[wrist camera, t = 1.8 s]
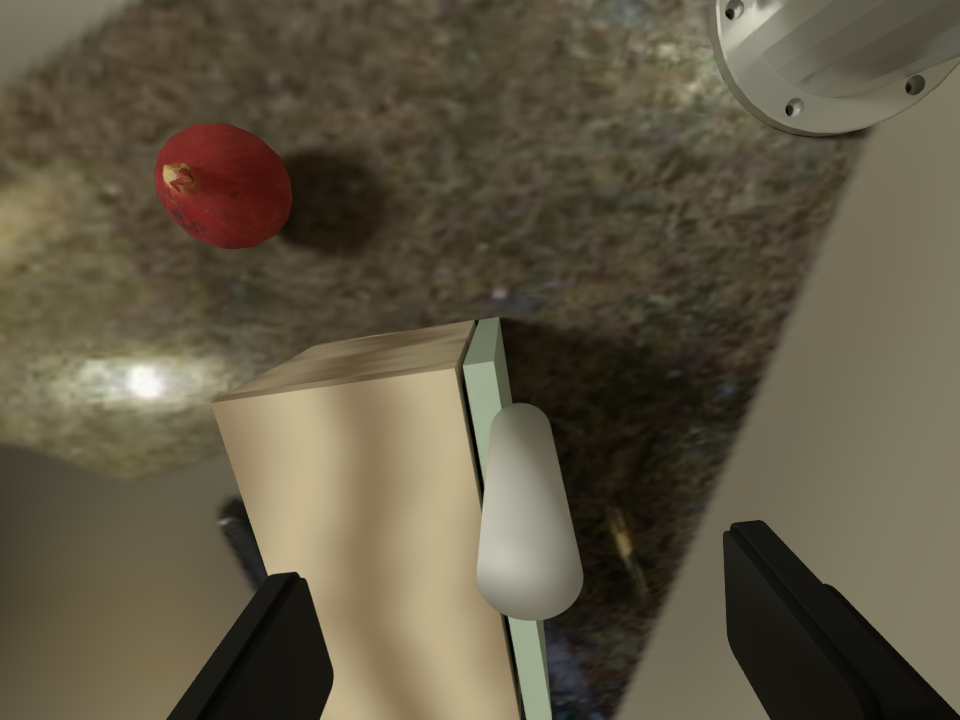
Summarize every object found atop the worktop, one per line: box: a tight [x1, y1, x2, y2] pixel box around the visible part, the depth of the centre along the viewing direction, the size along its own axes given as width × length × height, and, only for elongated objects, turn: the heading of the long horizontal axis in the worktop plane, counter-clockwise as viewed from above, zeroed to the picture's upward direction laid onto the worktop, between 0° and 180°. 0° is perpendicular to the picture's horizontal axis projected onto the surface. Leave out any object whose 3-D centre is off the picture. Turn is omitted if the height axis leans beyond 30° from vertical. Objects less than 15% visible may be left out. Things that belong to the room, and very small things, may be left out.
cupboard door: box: [463, 317, 583, 720], centre depth 20 cm, size 3×18×18 cm, turn 10°
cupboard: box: [211, 320, 521, 720], centre depth 25 cm, size 10×18×10 cm, turn 10°
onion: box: [154, 123, 293, 249], centre depth 22 cm, size 6×6×8 cm
